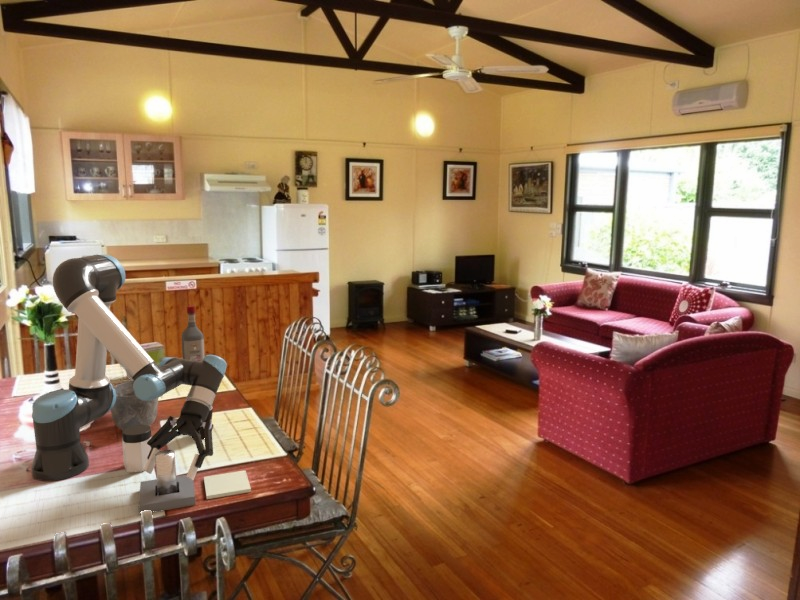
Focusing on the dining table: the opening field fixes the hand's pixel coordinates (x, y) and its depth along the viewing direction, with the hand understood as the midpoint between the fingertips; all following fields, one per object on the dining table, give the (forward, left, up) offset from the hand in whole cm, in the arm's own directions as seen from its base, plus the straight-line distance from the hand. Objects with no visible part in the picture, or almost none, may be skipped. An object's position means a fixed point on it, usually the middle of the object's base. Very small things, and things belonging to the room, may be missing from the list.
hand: (168, 475), depth 163 cm
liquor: (+13, +128, -7) cm, 128 cm away
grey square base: (0, +1, -7) cm, 7 cm away
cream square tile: (+16, +2, -7) cm, 17 cm away
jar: (-8, +24, -7) cm, 26 cm away
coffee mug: (+12, +43, -7) cm, 45 cm away
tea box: (-8, +120, -7) cm, 120 cm away
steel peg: (0, +1, -7) cm, 7 cm away
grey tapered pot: (-10, +58, -7) cm, 59 cm away
